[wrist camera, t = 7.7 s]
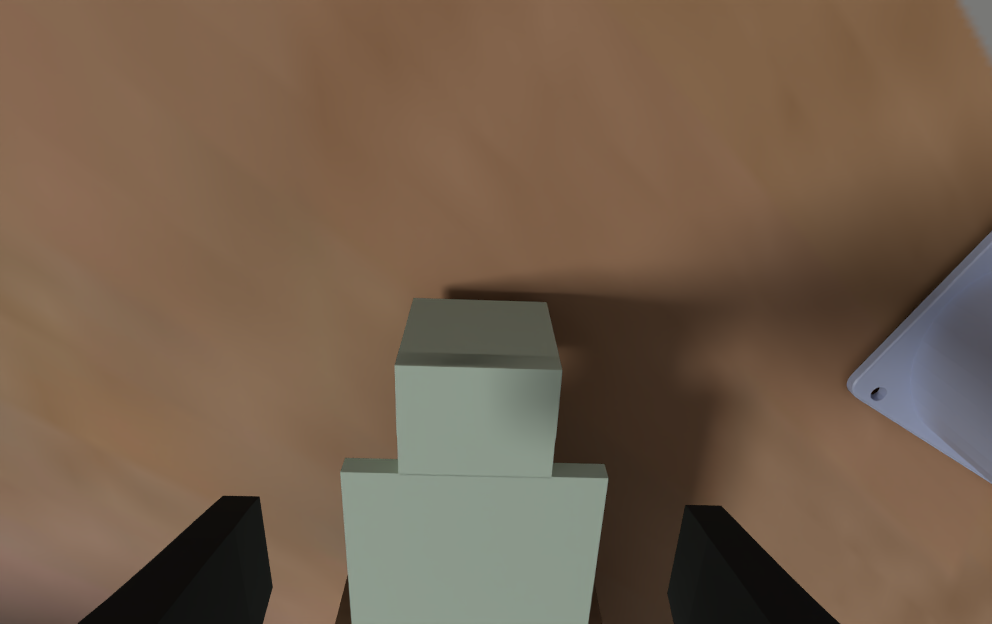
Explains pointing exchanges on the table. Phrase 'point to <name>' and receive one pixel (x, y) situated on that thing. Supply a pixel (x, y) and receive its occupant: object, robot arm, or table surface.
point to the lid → (473, 480)
